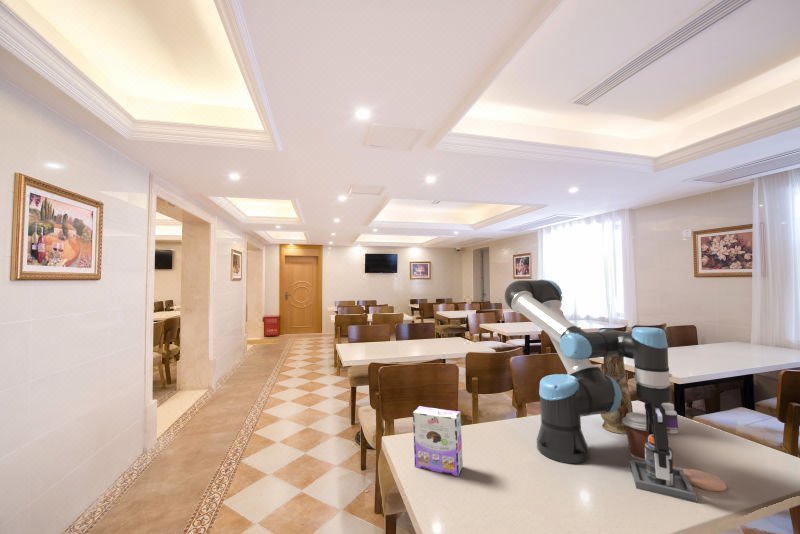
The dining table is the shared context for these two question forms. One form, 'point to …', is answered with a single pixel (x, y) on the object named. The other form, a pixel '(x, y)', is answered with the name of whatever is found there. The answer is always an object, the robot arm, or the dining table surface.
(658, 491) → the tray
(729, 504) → the dining table surface
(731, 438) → the dining table surface
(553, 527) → the dining table surface
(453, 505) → the dining table surface
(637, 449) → the coffee cup
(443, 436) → the candy box
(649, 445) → the pill bottle
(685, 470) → the peach flat disc
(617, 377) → the vase
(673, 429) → the pill bottle
